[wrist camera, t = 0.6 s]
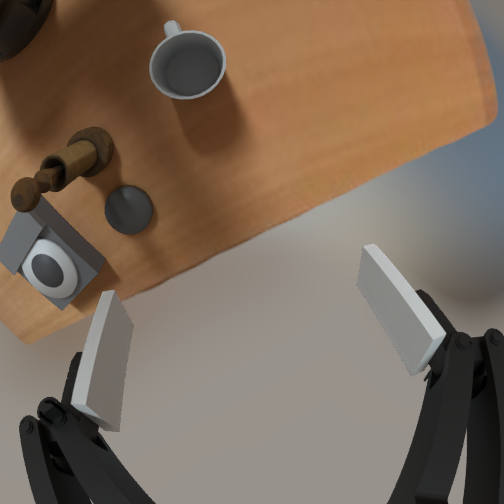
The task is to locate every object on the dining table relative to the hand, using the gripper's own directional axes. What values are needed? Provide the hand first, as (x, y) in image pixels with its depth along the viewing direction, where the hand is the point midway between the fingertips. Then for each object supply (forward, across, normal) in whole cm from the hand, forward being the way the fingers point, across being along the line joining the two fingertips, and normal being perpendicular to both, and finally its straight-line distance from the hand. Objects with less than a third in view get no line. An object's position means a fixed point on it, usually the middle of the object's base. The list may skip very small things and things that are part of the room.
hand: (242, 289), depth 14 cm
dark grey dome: (+25, -14, -4) cm, 29 cm away
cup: (+26, -2, +14) cm, 29 cm away
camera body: (+25, -30, -8) cm, 40 cm away
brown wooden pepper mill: (+26, -17, +5) cm, 31 cm away
